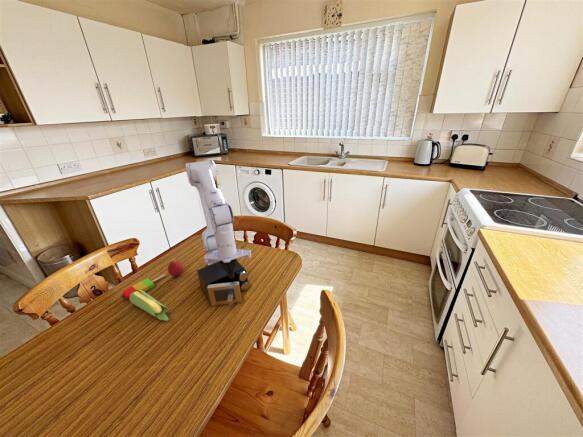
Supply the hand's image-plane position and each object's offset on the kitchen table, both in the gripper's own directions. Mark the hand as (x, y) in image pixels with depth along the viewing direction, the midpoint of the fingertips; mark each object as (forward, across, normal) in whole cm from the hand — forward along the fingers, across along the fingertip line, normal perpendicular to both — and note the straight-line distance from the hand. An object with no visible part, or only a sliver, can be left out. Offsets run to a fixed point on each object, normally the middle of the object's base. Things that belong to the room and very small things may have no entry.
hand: (231, 276), depth 80 cm
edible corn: (+9, -28, -1) cm, 30 cm away
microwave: (+9, -4, +6) cm, 12 cm away
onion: (+9, -24, +16) cm, 31 cm away
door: (+9, -3, -4) cm, 10 cm away
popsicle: (+9, -34, +12) cm, 37 cm away
